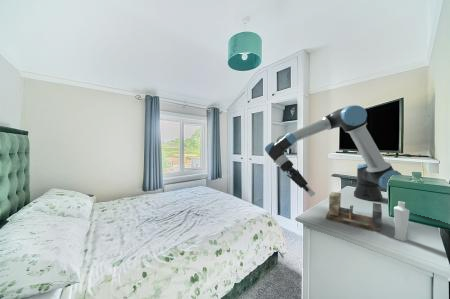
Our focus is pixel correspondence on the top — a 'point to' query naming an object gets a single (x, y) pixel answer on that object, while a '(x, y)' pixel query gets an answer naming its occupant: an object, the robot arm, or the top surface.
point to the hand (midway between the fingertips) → (313, 195)
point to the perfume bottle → (401, 221)
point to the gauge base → (361, 219)
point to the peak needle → (350, 212)
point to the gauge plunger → (336, 204)
